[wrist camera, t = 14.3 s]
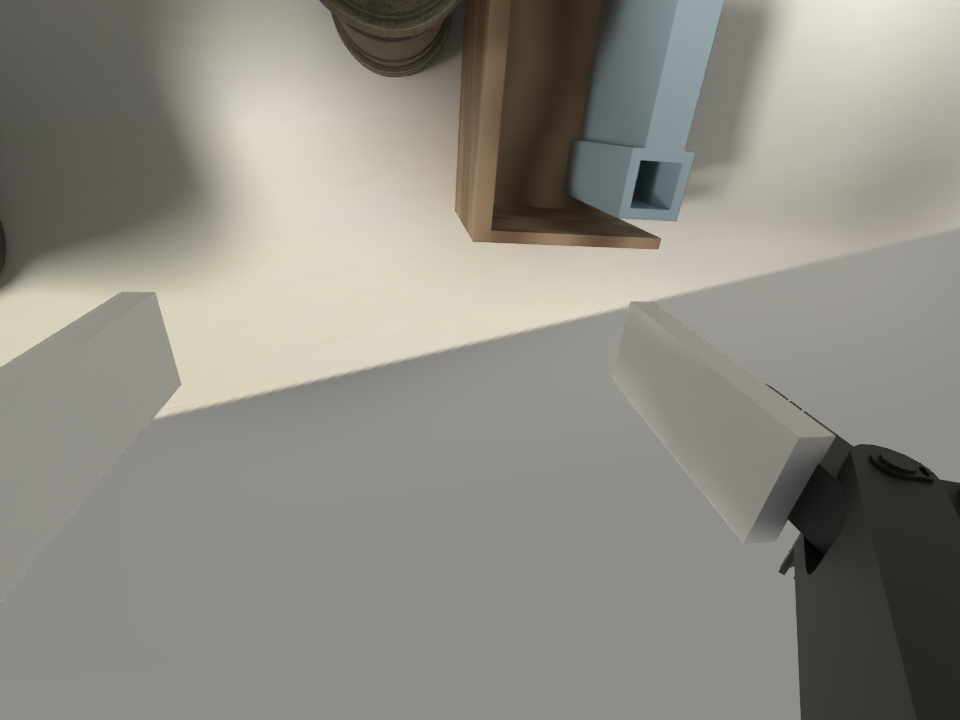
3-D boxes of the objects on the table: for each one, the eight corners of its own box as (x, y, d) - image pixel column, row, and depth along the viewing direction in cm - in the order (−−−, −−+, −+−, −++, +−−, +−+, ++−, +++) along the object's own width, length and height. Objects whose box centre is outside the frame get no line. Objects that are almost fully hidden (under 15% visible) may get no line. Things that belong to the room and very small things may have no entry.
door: (562, 192, 41) (618, 218, 30) (592, -6, 34) (677, -61, 23) (609, 195, 41) (679, 221, 31) (648, 1, 35) (753, -48, 24)
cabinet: (454, 209, 41) (473, 241, 30) (468, -63, 32) (500, -149, 22) (596, 217, 43) (658, 249, 33) (645, -34, 34) (751, -100, 24)
